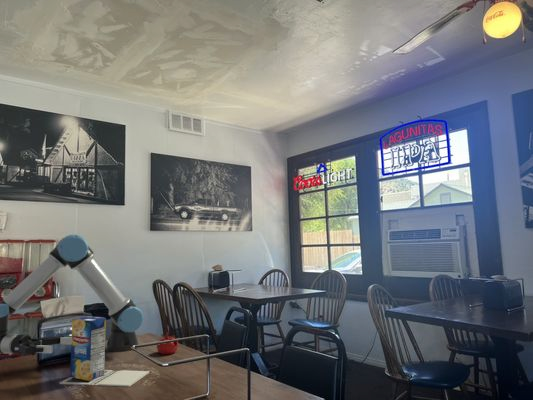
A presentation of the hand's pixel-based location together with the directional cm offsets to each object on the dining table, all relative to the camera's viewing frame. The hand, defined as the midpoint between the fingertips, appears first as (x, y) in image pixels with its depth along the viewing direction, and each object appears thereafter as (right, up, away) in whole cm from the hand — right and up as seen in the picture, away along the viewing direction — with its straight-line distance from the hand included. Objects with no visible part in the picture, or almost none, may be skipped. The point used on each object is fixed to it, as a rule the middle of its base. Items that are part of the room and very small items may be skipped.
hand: (64, 345), depth 157 cm
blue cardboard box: (+11, -11, -3) cm, 16 cm away
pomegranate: (+33, -15, +31) cm, 48 cm away
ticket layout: (+18, -11, -4) cm, 22 cm away
